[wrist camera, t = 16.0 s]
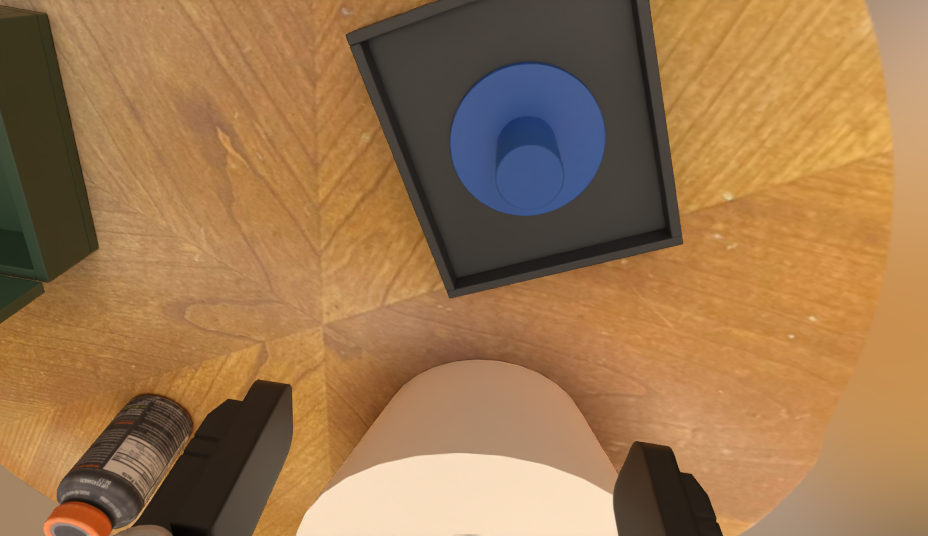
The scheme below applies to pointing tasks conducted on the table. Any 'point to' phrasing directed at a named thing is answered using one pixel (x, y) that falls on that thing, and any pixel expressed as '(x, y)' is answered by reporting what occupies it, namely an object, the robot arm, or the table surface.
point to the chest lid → (17, 294)
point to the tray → (480, 52)
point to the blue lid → (527, 138)
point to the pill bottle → (120, 469)
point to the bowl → (472, 462)
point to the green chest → (37, 157)
